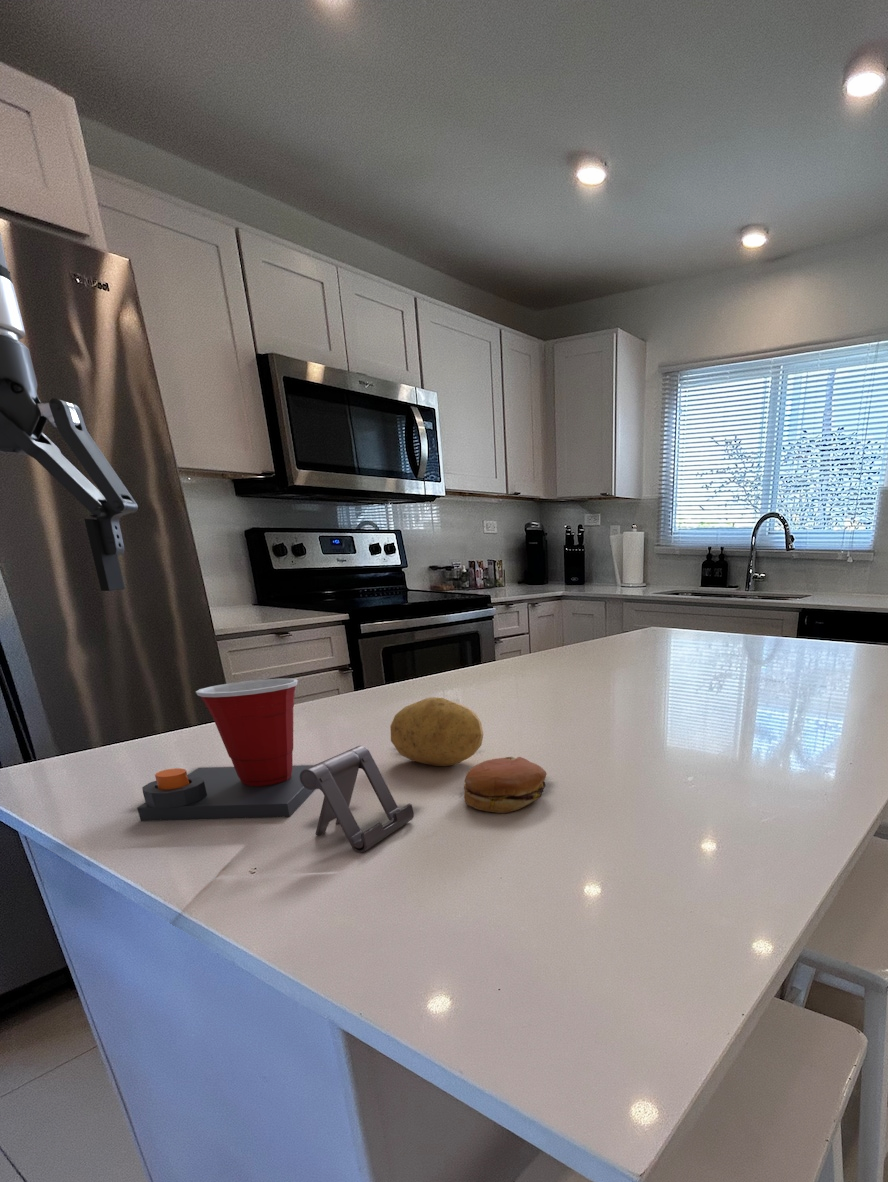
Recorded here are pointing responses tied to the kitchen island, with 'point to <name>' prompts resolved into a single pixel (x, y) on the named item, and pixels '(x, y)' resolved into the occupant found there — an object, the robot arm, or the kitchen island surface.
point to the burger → (504, 784)
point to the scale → (223, 797)
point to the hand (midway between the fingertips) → (39, 588)
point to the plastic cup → (255, 727)
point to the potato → (436, 732)
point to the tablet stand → (338, 788)
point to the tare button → (172, 778)
